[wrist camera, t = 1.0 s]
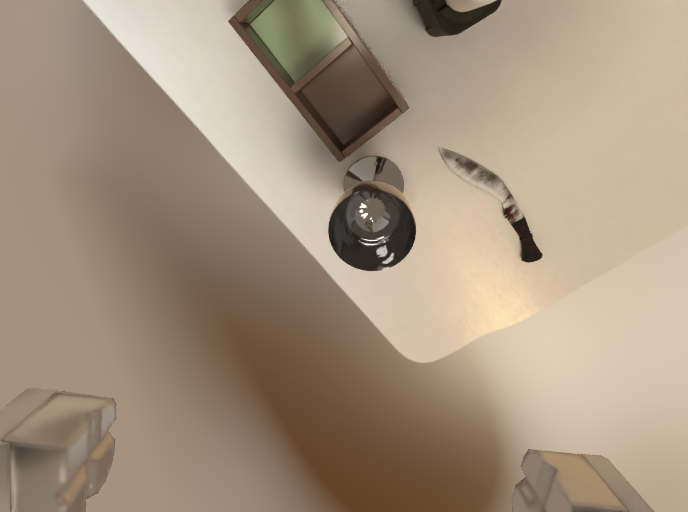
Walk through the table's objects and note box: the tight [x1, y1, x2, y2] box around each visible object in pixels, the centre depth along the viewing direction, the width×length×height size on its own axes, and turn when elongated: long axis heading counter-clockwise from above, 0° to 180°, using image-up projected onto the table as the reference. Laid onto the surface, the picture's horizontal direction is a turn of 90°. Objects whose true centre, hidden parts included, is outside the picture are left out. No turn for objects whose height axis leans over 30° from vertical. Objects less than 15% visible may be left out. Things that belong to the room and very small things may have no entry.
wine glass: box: [328, 156, 416, 271], centre depth 49 cm, size 8×8×15 cm
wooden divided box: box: [229, 0, 409, 162], centre depth 49 cm, size 9×17×5 cm, turn 38°
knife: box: [439, 148, 542, 262], centre depth 56 cm, size 18×1×5 cm
